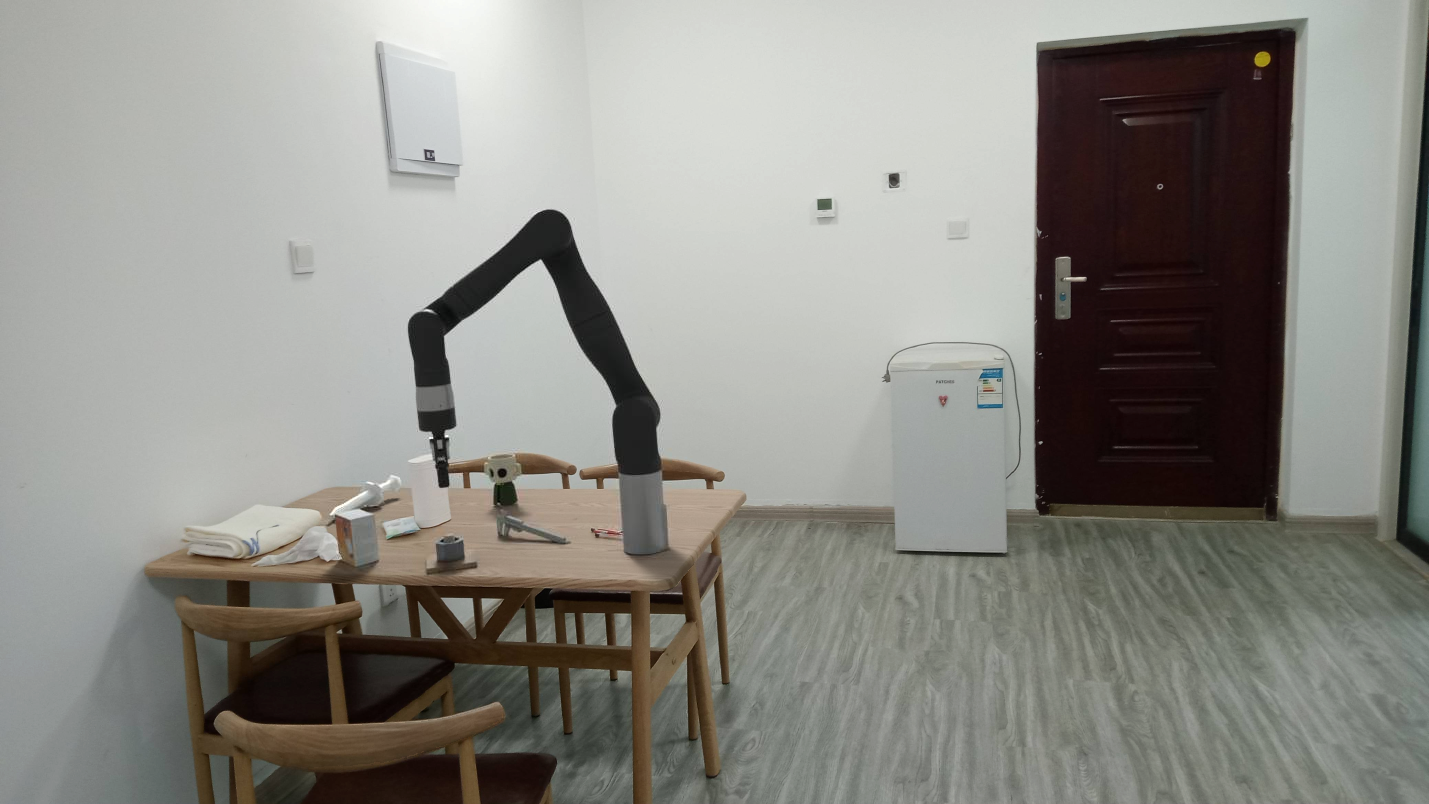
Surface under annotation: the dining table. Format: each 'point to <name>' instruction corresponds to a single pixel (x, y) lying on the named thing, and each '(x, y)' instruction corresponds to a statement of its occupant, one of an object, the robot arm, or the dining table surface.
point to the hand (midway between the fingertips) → (443, 483)
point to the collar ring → (450, 550)
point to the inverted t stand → (440, 566)
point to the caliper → (524, 528)
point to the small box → (357, 537)
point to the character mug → (503, 478)
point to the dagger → (369, 495)
